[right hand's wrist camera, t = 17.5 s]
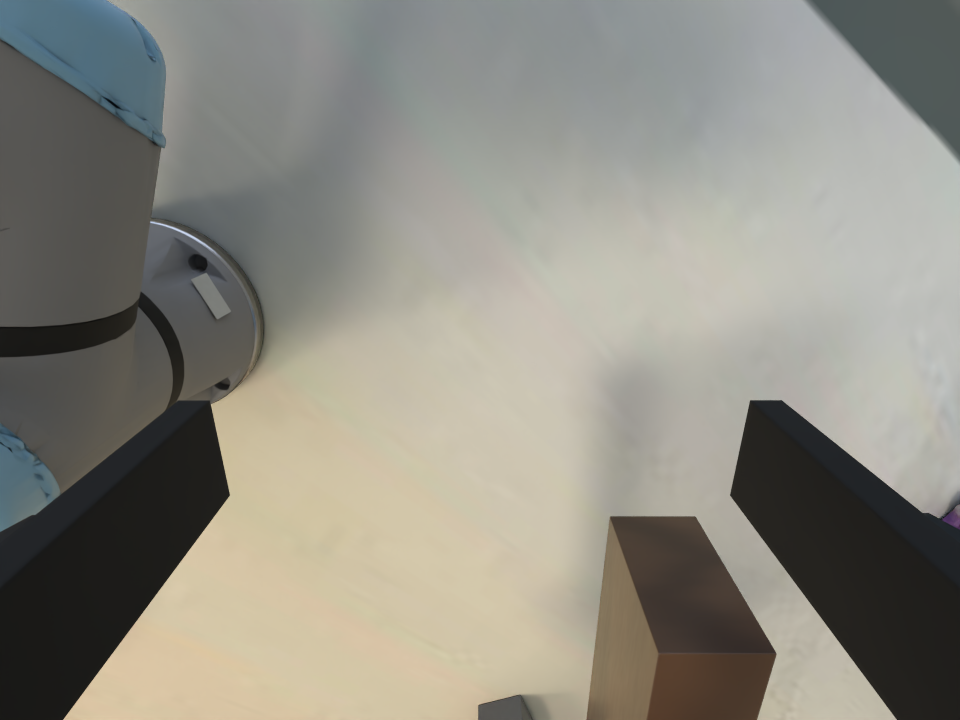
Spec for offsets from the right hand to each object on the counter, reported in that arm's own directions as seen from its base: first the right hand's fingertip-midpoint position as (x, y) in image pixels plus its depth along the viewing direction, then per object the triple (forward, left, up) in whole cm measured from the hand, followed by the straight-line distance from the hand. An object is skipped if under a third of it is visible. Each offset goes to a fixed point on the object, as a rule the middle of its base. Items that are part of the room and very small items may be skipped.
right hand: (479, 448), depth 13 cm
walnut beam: (+9, -24, -11) cm, 28 cm away
